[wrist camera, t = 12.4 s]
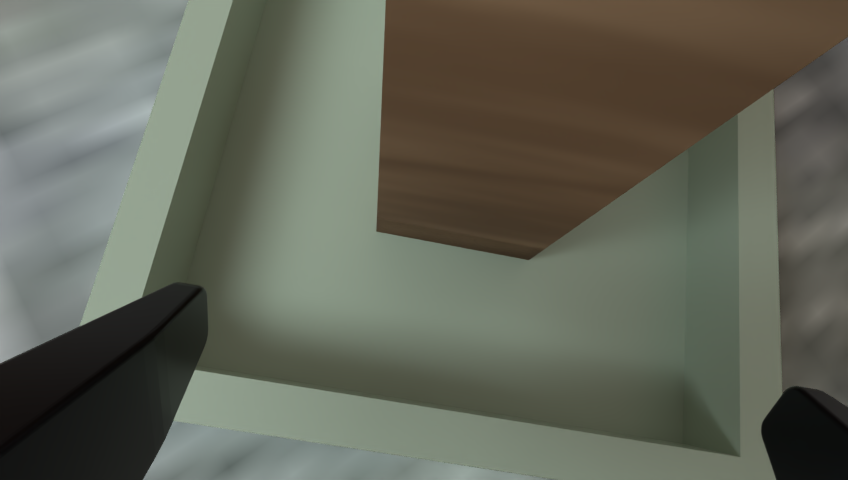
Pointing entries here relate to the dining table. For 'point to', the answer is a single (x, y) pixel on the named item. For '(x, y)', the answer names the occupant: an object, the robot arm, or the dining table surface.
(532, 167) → the walnut crate
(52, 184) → the dining table surface
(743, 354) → the green square tray
